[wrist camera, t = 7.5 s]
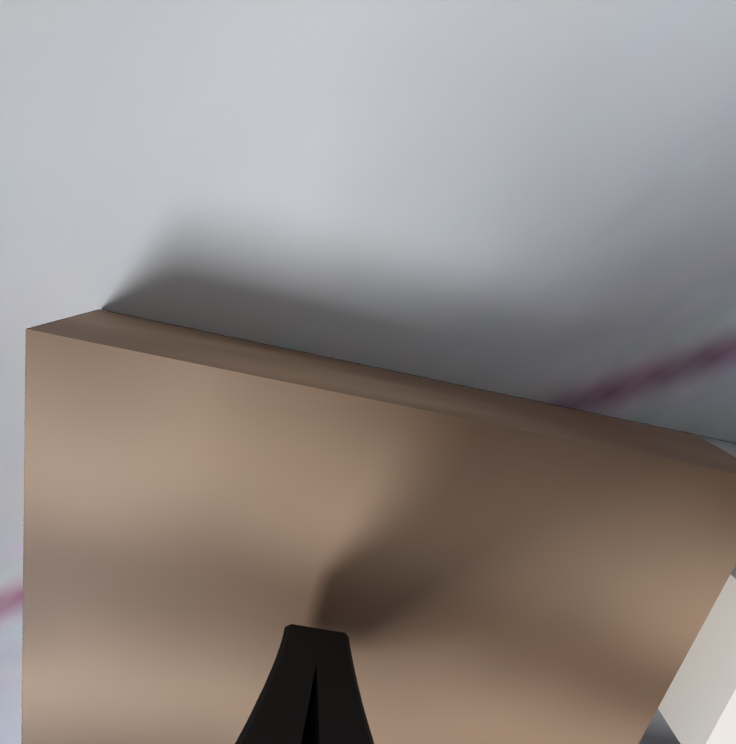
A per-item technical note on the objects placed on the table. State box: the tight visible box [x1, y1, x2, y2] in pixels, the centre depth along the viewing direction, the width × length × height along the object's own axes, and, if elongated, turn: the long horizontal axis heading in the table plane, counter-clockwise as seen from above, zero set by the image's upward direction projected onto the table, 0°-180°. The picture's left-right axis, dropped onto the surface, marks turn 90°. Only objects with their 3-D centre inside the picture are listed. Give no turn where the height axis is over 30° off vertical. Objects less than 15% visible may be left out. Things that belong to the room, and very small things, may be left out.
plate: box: [22, 309, 736, 744], centre depth 12 cm, size 12×16×2 cm
